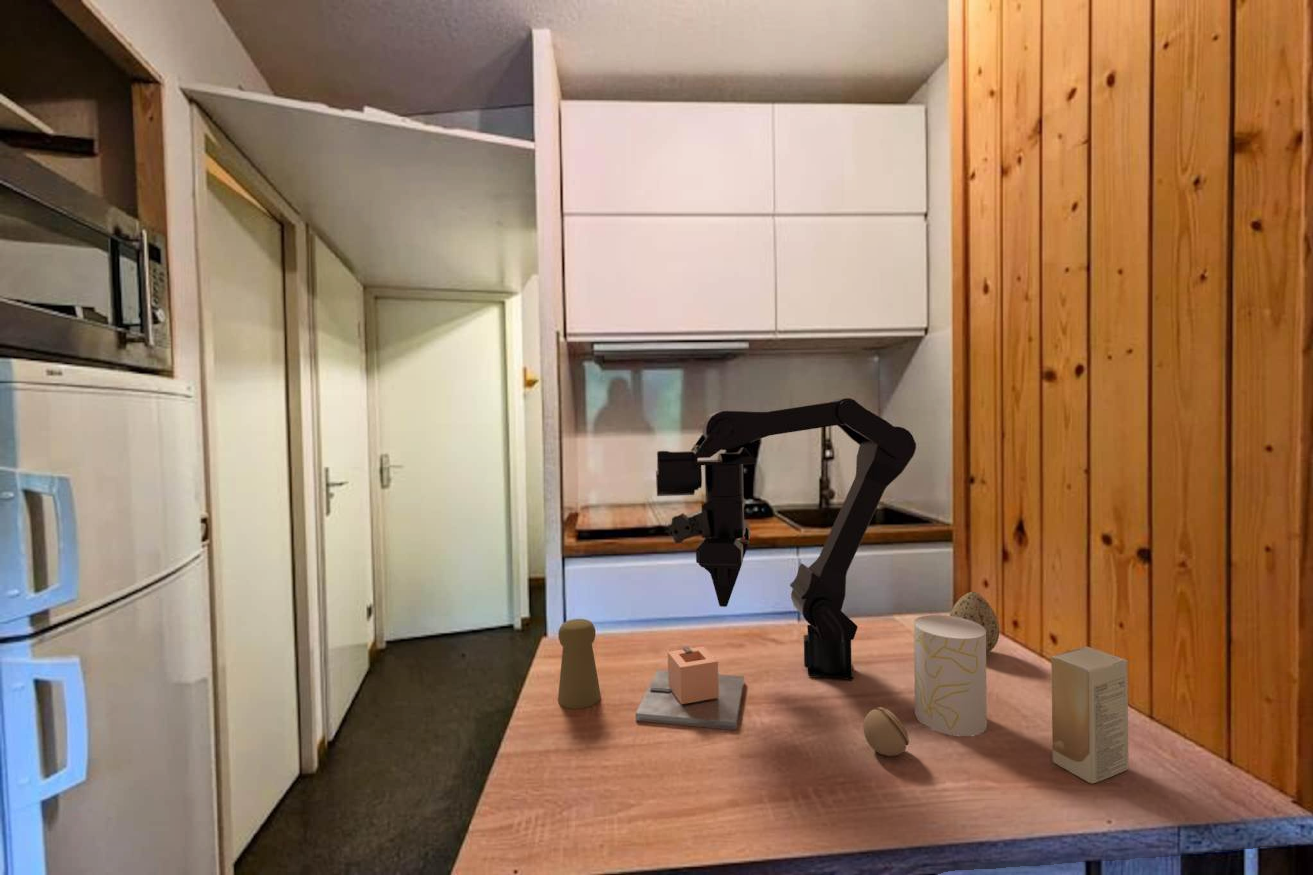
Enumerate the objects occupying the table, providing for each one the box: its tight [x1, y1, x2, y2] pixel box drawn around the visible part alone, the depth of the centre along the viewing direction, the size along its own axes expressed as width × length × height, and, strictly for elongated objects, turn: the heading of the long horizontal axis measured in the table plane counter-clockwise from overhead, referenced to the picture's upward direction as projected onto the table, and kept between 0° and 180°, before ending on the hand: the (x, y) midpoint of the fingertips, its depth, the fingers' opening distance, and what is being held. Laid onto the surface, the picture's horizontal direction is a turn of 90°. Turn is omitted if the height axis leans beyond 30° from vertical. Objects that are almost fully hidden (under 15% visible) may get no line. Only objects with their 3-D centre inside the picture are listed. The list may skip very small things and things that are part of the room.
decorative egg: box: [949, 591, 1000, 654], centre depth 93 cm, size 7×7×10 cm
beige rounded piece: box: [862, 706, 910, 757], centre depth 67 cm, size 5×5×5 cm
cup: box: [913, 614, 988, 737], centre depth 73 cm, size 8×8×12 cm
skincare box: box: [1050, 646, 1130, 784], centre depth 63 cm, size 6×4×12 cm
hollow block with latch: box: [667, 646, 719, 704], centre depth 80 cm, size 5×5×5 cm
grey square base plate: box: [635, 669, 745, 731], centre depth 80 cm, size 13×13×4 cm
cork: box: [557, 618, 602, 710], centre depth 81 cm, size 6×6×11 cm
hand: (726, 596), depth 87 cm, fingers open, 9 cm apart
